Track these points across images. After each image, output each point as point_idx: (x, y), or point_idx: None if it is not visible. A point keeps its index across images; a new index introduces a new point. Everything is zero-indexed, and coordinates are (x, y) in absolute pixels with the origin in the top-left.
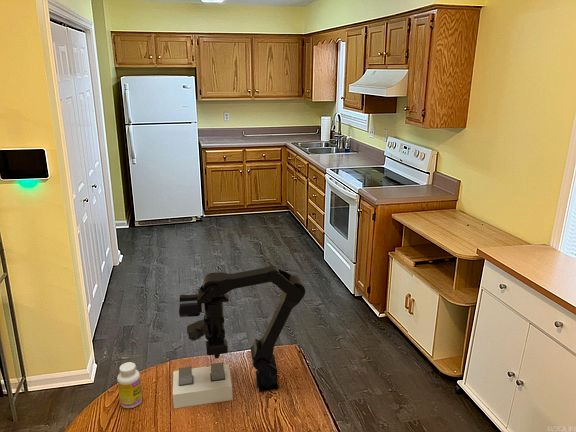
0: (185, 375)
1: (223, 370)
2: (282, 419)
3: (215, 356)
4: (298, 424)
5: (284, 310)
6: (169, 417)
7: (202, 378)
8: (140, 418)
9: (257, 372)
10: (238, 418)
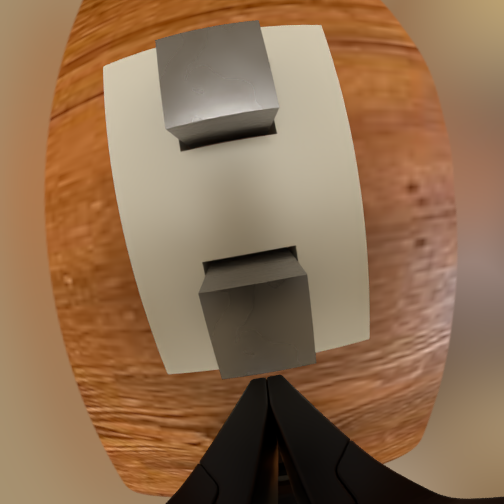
0: (162, 83)
1: (222, 372)
2: (123, 443)
3: (242, 405)
4: (118, 461)
5: None
6: (90, 94)
7: (238, 201)
8: (107, 11)
9: (278, 448)
10: (96, 351)
